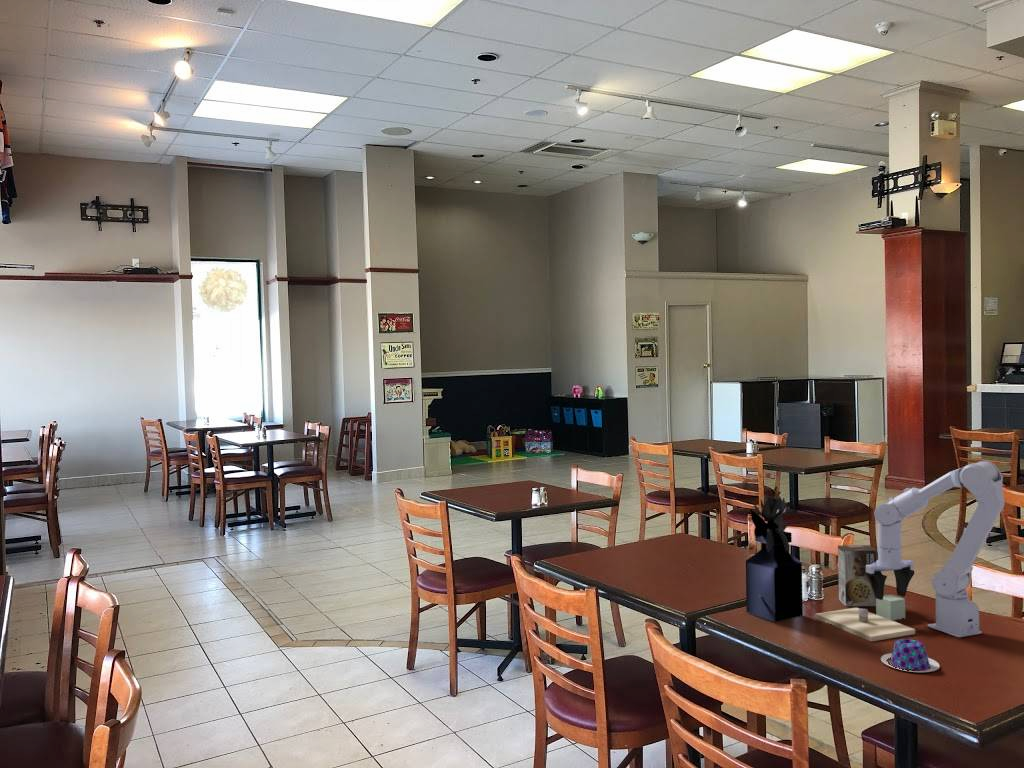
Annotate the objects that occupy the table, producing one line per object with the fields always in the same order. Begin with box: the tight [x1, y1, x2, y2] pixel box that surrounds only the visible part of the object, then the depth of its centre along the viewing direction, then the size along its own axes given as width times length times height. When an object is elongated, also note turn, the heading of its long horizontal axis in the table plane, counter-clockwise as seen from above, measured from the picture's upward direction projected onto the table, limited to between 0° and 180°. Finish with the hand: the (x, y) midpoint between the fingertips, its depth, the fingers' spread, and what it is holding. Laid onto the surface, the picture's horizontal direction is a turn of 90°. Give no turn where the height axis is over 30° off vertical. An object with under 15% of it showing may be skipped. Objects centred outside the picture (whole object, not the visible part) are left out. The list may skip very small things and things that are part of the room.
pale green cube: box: [875, 593, 906, 621], centre depth 215 cm, size 5×5×5 cm
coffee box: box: [837, 544, 878, 607], centre depth 227 cm, size 9×6×16 cm
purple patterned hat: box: [880, 638, 941, 673], centre depth 181 cm, size 12×12×5 cm
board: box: [814, 607, 916, 642], centre depth 208 cm, size 20×14×4 cm
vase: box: [745, 486, 804, 623], centre depth 218 cm, size 14×12×35 cm
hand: (890, 597), depth 215 cm, fingers open, 7 cm apart
